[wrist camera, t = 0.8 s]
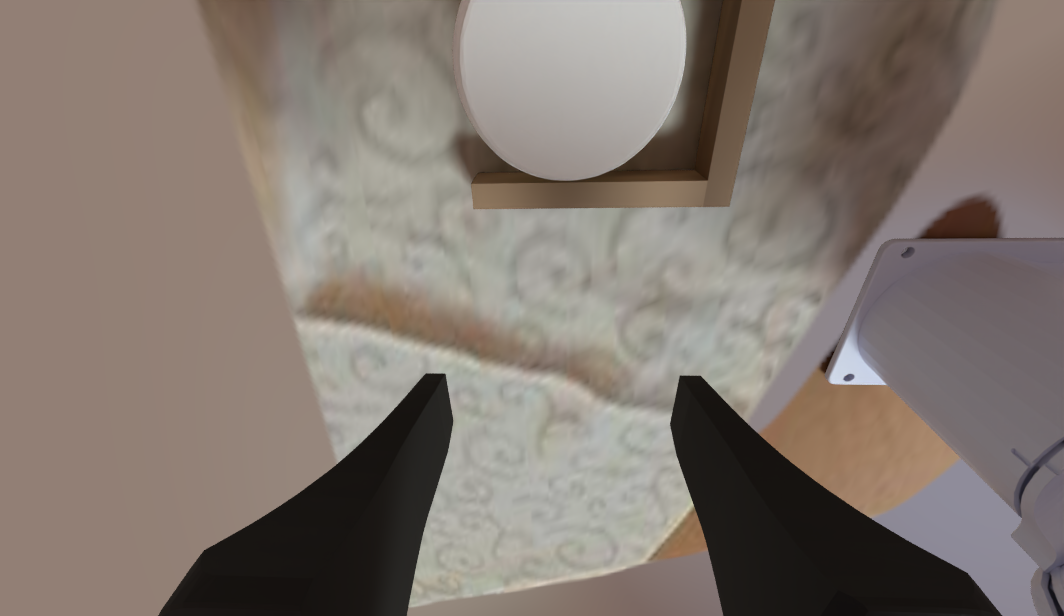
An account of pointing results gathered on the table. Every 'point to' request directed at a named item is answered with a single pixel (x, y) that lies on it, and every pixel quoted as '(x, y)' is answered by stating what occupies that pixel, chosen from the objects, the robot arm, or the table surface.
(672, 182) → the wooden frame
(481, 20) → the supplement bottle
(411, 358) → the table surface
